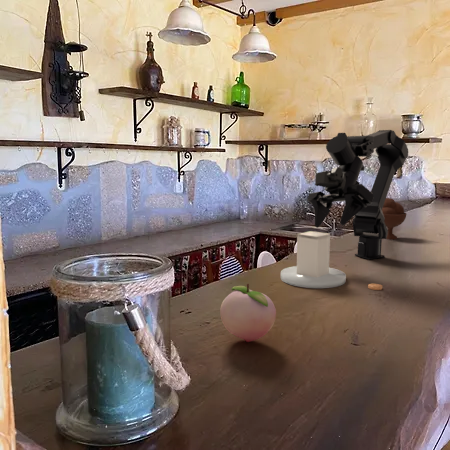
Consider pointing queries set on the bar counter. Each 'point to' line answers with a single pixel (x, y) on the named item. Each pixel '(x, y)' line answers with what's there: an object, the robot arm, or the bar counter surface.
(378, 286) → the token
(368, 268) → the bar counter surface
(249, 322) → the decorative fruit
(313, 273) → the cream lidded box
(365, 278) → the bar counter surface
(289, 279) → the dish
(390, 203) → the ice cream bowl
